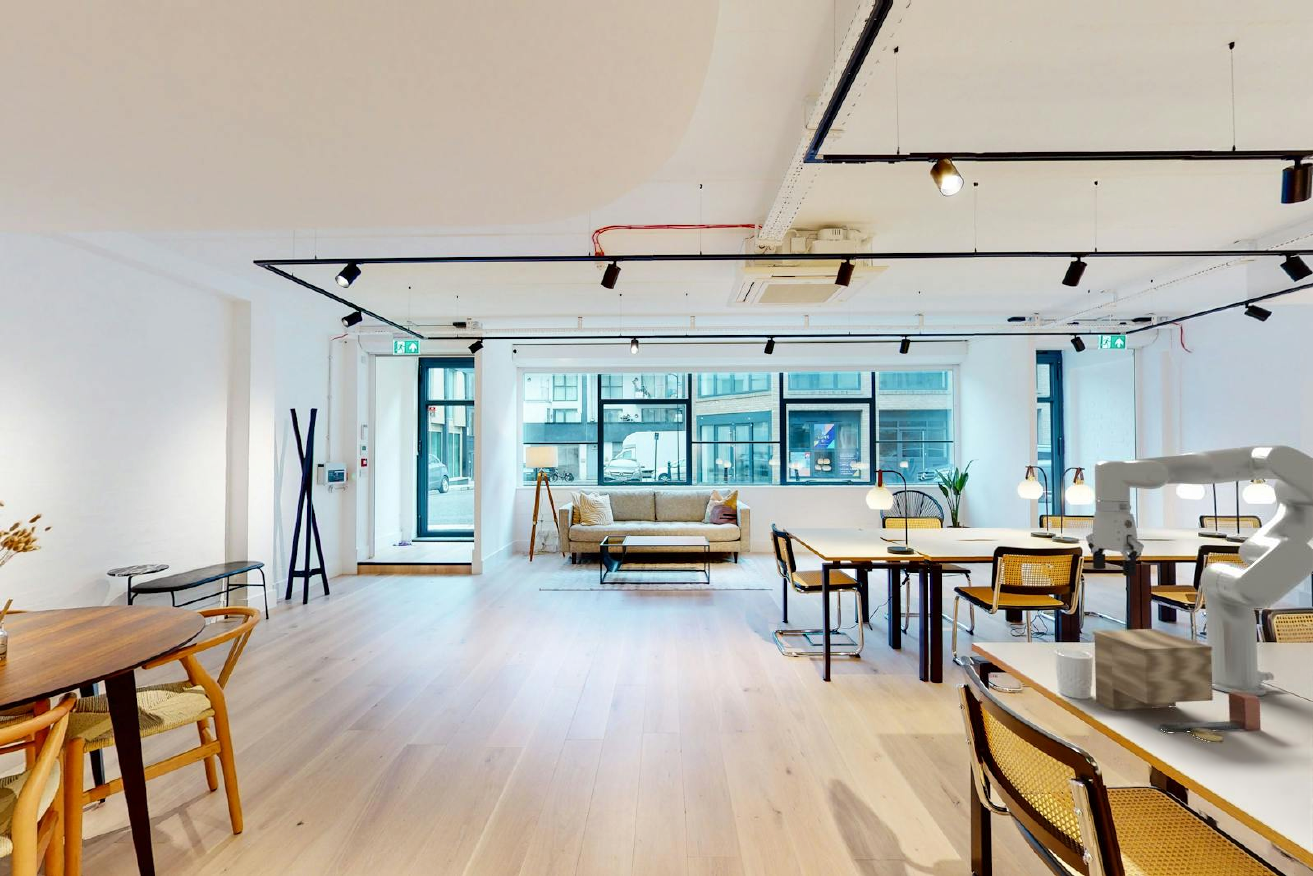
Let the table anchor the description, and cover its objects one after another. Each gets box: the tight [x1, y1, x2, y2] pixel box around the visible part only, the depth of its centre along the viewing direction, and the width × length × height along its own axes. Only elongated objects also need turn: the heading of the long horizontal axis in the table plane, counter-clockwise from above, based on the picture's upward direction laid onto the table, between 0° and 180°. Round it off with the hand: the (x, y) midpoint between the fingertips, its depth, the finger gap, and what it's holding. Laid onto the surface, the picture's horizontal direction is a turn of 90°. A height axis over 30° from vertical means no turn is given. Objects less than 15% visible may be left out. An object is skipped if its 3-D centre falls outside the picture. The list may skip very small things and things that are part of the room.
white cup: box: [1054, 648, 1094, 700], centre depth 156 cm, size 8×8×10 cm
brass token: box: [1190, 728, 1224, 743], centre depth 132 cm, size 5×5×1 cm
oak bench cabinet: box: [1092, 628, 1214, 711], centre depth 145 cm, size 16×14×17 cm
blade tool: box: [1158, 692, 1262, 733], centre depth 136 cm, size 21×4×7 cm, turn 96°
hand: (1114, 572), depth 166 cm, fingers open, 9 cm apart
